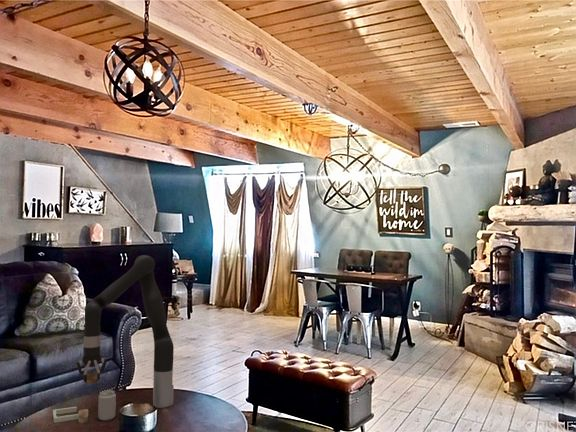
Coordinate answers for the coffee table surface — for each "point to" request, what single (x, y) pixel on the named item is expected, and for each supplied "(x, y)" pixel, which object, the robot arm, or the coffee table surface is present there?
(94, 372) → the walnut block
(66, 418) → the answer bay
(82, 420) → the cork cylinder
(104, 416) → the pale grey jar
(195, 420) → the coffee table surface
